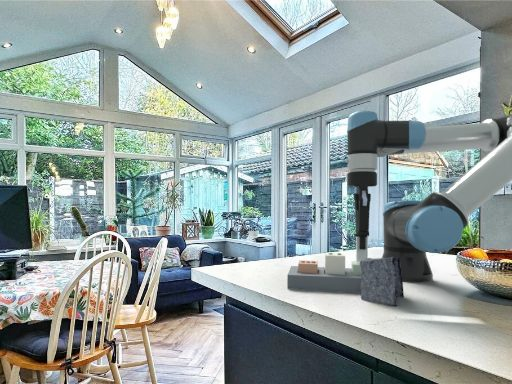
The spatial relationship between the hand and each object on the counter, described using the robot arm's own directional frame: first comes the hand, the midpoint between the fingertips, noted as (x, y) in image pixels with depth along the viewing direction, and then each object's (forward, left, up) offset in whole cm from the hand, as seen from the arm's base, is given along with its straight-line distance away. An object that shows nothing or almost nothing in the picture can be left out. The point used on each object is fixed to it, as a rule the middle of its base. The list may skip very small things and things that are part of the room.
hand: (361, 261), depth 91 cm
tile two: (+7, 0, -3) cm, 8 cm away
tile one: (0, 0, -6) cm, 6 cm away
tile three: (+14, 0, -6) cm, 15 cm away
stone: (-3, +10, -8) cm, 13 cm away
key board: (+7, 0, -8) cm, 10 cm away
